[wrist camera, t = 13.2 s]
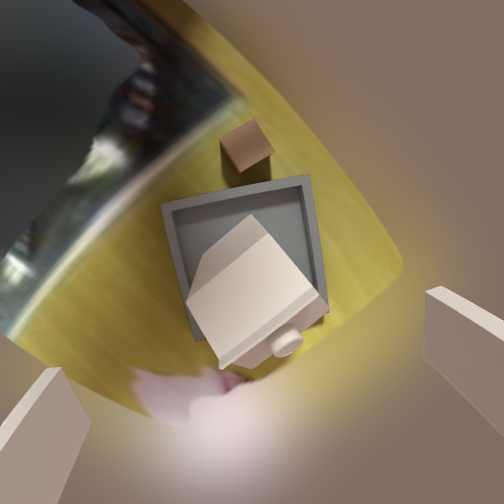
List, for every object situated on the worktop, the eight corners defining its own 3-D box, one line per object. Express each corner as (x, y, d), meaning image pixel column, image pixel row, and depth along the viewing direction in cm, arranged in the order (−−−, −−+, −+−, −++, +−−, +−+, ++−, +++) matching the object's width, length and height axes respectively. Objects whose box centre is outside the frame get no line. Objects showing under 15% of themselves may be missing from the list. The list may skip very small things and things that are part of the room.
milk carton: (201, 254, 35) (176, 327, 16) (250, 213, 34) (278, 243, 16) (242, 299, 36) (258, 403, 18) (290, 261, 36) (351, 335, 17)
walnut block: (220, 144, 33) (219, 138, 29) (250, 126, 33) (253, 118, 29) (239, 173, 34) (240, 172, 30) (269, 155, 34) (274, 151, 30)
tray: (164, 203, 34) (159, 204, 32) (303, 175, 35) (309, 174, 32) (196, 331, 37) (195, 341, 35) (323, 305, 38) (329, 312, 36)
